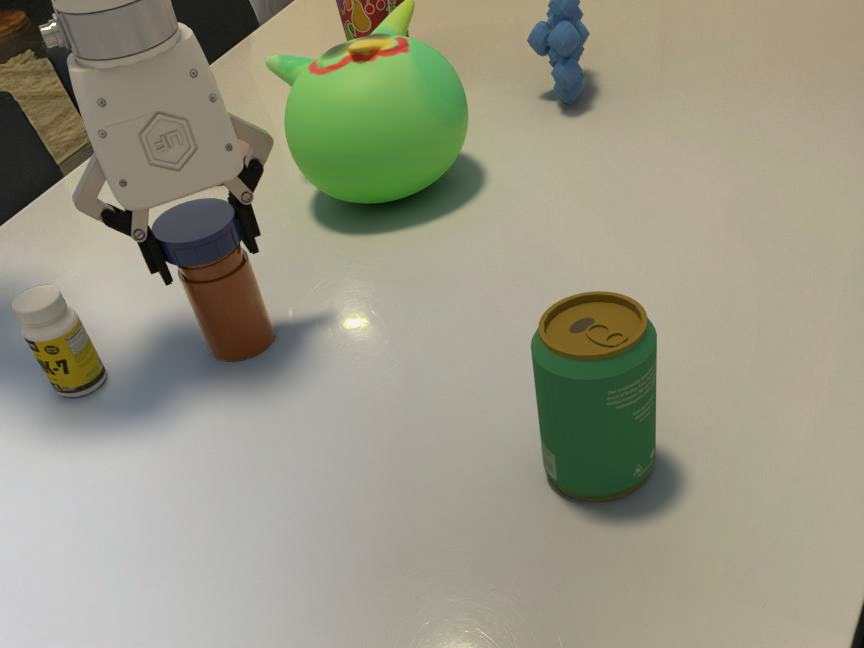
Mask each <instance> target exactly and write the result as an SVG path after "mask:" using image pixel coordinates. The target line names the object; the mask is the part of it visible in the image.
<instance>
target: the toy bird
mask: <svg viewBox="0 0 864 648" xmlns="http://www.w3.org/2000/svg"><path fill="white" fill-rule="evenodd" d="M415 3H416V2H415V0H405V1H404V2H402V3H401V4H400V5H399V6H397V7H396V8H395V9H394V10H393V11H392V12H391V13H390V14H389V15H388V16H387V17H386V18H385V19H384V20H383V22H382V23H381V24H380V25H379V26H378V27H377V28H376V29H375V30H374V31H373V32H372V33H371V34H370V35H368V36H366V37H361V38H357V39H353V40H350V41H347V40H346V41H345V42H342V43H339V44H336V45H335V46H333V47H330V48H329V49H327V50H326V51H324V52H322V53H321V54H319V55H318V56H317V57H315V58H311V57H303V56H296V55H287V54H273V55H269V56H267V57H266V58H265V60H264V64H265V66H266V68H267V69H269V71H271V72H272V73H273V74H274V75H275V76H277V77H278V78H279V79H281V81H283V82H284V83H285V84H287V85H288V86H290V87H291V88H290V91H289V93H288V96H287V99H286V103H285V109H284V134H285V139H286V143H287V147H288V150H289V153H290V155H291V157H292V159H293V161H294V163H295V165H296V166H297V168H298V170H299V171H300V172H301V174H302V175H303V176H304V178H305V179H306V180H307V181H308V182H309V183H310V184H311V185H312V186H314V187H315V188H316V189H318V190H319V191H320V192H322V193H324V194H325V195H327V196H330V197H332V198H334V199H337V200H339V201H340V200H341V201H344V202H348V203H354V204H365V205H366V204H367V205H370V204H382V203H383V204H384V203H388V202H393V201H397V200H401V199H404V198H407V197H410V196H412V195H415V194H416V193H418V192H421V191H422V190H424V189H427V188H428V187H430V186H431V185H432V184H434V183H435V182H436V181H438V180H439V179H440V178H441V177H442V176H443V175H444V174H445V173H446V172H447V171H448V170H450V168H451V167H452V166H453V164H454V162H456V160H457V158H458V157H459V155H460V153H461V151H462V148H463V146H464V144H465V141H466V137H467V133H468V127H469V106H468V99H467V95H466V90H465V88H464V85H463V83H462V80H461V77H460V76H459V75H458V72H457V71H456V69H455V68H454V67H453V65H452V64H451V62H450V61H449V60H448V59H447V58H446V56H444V54H442V53H441V52H440V51H439V50H438V49H436V48H435V47H433V46H431V45H430V44H428V43H426V42H424V41H422V40H419V39H416V38H413V37H410V36H409V37H406V33H407V30H408V31H409V27H410V24H411V21H412V18H413V15H414V11H415V6H416V5H415Z"/></svg>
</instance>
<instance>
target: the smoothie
mask: <svg viewBox="0 0 864 648" xmlns="http://www.w3.org/2000/svg"><path fill="white" fill-rule="evenodd" d="M404 1H406V0H335V2H336V6H337V10H338V13H339V18H340V20H341V24H342V28H343V32H344V35H345V38H346V39H345V40H346V42H347V41H350V40H353V39H357V38H361V37H366V36H368V35H370V34H371V33H372V32H373V31H374V30H375V29H376V28H377V27H378V26H379V25H380V24H381V23H382V22H383V20H384V19H385V18H386V17H387V16H388V15H389V14H390V13H391V12H392V11H393V10H394V9H395V8H396V7H397V6H399V5H400V4H401V3H402V2H404ZM406 37H410V33H409V29H408V30H407V33H406Z"/></svg>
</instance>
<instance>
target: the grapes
mask: <svg viewBox="0 0 864 648" xmlns="http://www.w3.org/2000/svg"><path fill="white" fill-rule="evenodd" d="M580 4H581V0H549V2H548V3H547V7H548V8H549V9H548V10H547V12H546V16H547V21H545V20H540V21H538V22H537V23H535V24H534V27H533V28H531V29H532V30H531V32H530V33H529V35H528V37H527V39H526V42H527V43H528V45H529V46H530V48H531V49H532V50H533V51H534V53H536V55H537V56H539V57H546V56H548V58H549V61H548V64H549V65H550V66H551V67H552V70H551V72H550V75H551V76H552V78H553V81H554V82H555V83H554V85H553V87H552V89H553V91H554V92H555V94H556V96H557V97H558V98H559V99H560V100H561V101H562V102H563V104H568V105H572V104H573V103H574V102H575V101H576V100H577V99H578V97H579V95H580V93H581V92H582V90H583V88H584V86H585V84H584V83H583V81H584V79H585V75H584V73H583V71H584V70H583V68H582V67H581V65H580V64H579V61H580V59H581V57H582V55H583V53H584V51H585V47H584V45H585V43H586V42H587V40H588V38H589V36H590V32H589V30H588V28H587V27H586V25H585V24H584V23H583V22H582V19H583V16H584V13H583V11H582V10H581V8H580V7H579V6H580Z"/></svg>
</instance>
